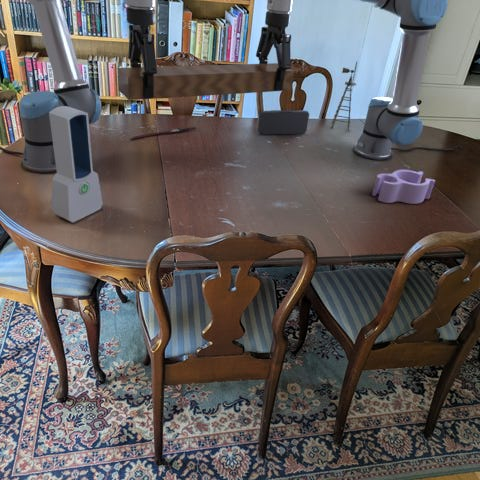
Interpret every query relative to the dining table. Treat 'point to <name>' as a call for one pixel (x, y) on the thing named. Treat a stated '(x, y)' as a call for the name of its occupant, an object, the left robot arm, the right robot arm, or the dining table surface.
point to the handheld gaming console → (283, 122)
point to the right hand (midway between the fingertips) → (269, 85)
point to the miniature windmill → (345, 97)
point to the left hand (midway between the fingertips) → (142, 91)
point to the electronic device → (73, 165)
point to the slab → (203, 80)
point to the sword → (164, 132)
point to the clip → (402, 187)
